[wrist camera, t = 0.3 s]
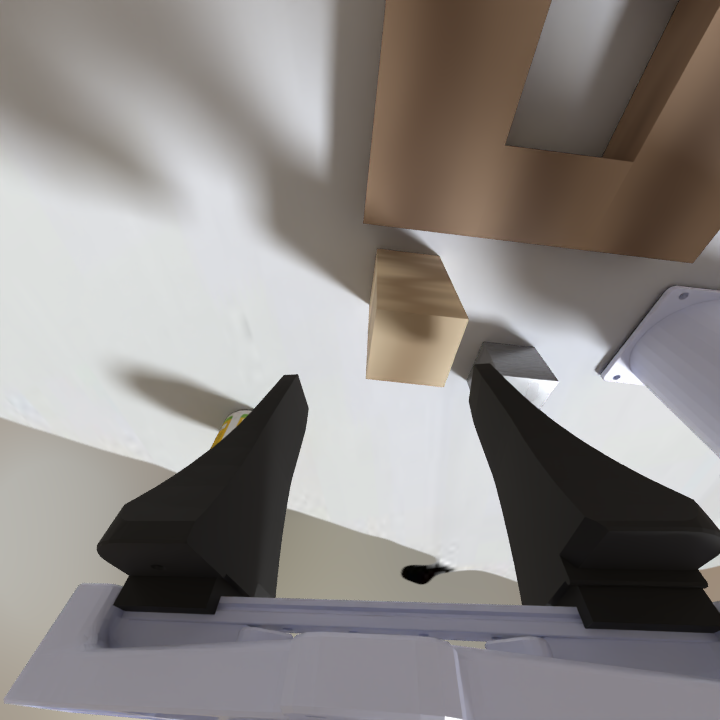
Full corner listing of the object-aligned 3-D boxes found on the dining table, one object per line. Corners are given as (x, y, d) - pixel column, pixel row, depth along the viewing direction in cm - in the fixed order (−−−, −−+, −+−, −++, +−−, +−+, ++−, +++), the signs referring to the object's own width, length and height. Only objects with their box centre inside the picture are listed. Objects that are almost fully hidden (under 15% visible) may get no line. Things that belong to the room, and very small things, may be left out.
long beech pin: (439, 255, 19) (468, 319, 13) (424, 311, 22) (443, 387, 16) (377, 248, 19) (376, 308, 13) (369, 304, 22) (365, 378, 15)
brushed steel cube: (534, 346, 23) (558, 381, 20) (512, 385, 26) (531, 421, 23) (483, 341, 23) (499, 375, 20) (466, 380, 26) (479, 415, 23)
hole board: (960, -185, 10) (1106, -262, 8) (659, 248, 18) (692, 263, 16) (415, -275, 9) (424, -381, 7) (364, 212, 18) (363, 223, 16)
